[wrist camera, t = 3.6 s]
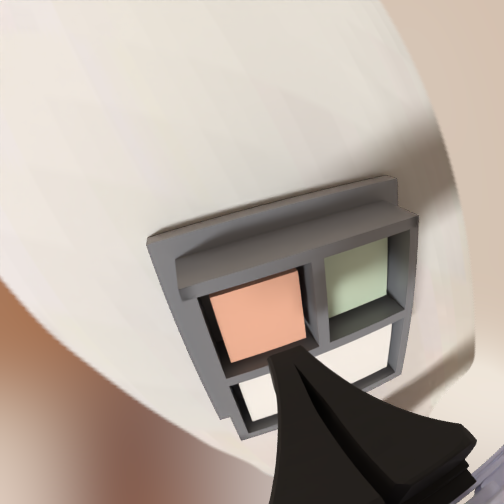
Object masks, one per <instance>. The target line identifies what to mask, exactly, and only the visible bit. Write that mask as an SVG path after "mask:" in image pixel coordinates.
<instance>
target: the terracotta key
mask: <svg viewBox="0 0 504 504" xmlns="http://www.w3.org/2000/svg"><path fill="white" fill-rule="evenodd" d="M209 297H210V300H211V303H212V306H213V310H214V313H215V316H216V319H217V322H218V325H219V328H220V331H221V334H222V337H223V340H224V343H225V346H226V349H227V352H228V355H229V358H230V361H231V363H232V362H236V361H239V360H242V359H245V358H248V357H251V356H254V355H257V354H261V353H264V352H267V351H269V350H272V349H275V348H278V347H281V346H284V345H287V344H290V343H292V342H295V341H298V340H301V339H303V338H306V332H305V324H304V315H303V307H302V300H301V292H300V284H299V277H298V271H297V270H296V268H292V269H289V270H286V271H283V272H279V273H276V274H273V275H270V276H267V277H263V278H260V279H257V280H254V281H250V282H247V283H244V284H241V285H237V286H234V287H231V288H228V289H224V290H221V291H218V292H214V293H211V294H209Z"/></svg>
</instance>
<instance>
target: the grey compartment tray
mask: <svg viewBox="0 0 504 504" xmlns="http://www.w3.org/2000/svg"><path fill="white" fill-rule="evenodd" d="M418 222H419V215H417V214H415V213H412V212H410V211H408V210H406V209H403V208H401V207H399V206H398V189H397V178H394V177H391V176H388V175H385V176H381V177H376V178H372V179H367V180H363V181H358V182H354V183H350V184H345V185H341V186H337V187H333V188H328V189H324V190H320V191H316V192H312V193H308V194H304V195H300V196H296V197H292V198H288V199H284V200H280V201H276V202H272V203H269V204H265V205H261V206H257V207H253V208H250V209H246V210H242V211H238V212H235V213H231V214H228V215H224V216H220V217H217V218H213V219H210V220H206V221H203V222H199V223H196V224H192V225H189V226H185V227H182V228H178V229H175V230H172V231H168V232H165V233H161V234H158V235H155V236H152V237H148V238H147V243H146V246H147V249H148V252H149V254H150V257H151V260H152V263H153V266H154V268H155V271H156V274H157V277H158V279H159V282H160V285H161V287H162V290H163V292H164V295H165V298H166V300H167V303H168V305H169V308H170V310H171V313H172V315H173V318H174V320H175V323H176V325H177V327H178V330H179V332H180V335H181V337H182V339H183V342H184V344H185V346H186V349H187V351H188V353H189V355H190V358H191V360H192V362H193V364H194V366H195V369H196V371H197V373H198V375H199V377H200V380H201V382H202V384H203V386H204V388H205V390H206V392H207V394H208V396H209V398H210V400H211V402H212V404H213V407H214V409H215V411H216V413H217V414H218V416H219V418H220V420H221V419H225V418H228V417H230V418H231V420H232V422H233V424H234V426H235V429H236V431H237V433H238V435H239V437H240V439H241V441H242V440H245V439H249V438H252V437H255V436H258V435H261V434H264V433H267V432H271V431H273V430H276V429H278V414H277V413H276V414H274V415H271V416H268V417H265V418H262V419H258V420H255V421H252V419H251V416H250V413H249V411H248V408H247V405H246V403H245V400H244V397H243V394H242V392H241V389H240V386H239V383H241V382H245V381H248V380H251V379H254V378H257V377H260V376H263V375H266V374H269V373H270V371H269V366H268V362H267V358H268V357H269V356H271V355H274V354H277V353H279V352H282V351H285V350H288V349H291V348H293V347H296V346H299V345H301V346H303V347H304V348H305V349H306V350H307V351H309V352H310V353H311V354H312V355H313V356H314V357H316V356H318V355H321V354H323V353H326V352H328V351H331V350H333V349H335V348H338V347H340V346H343V345H345V344H347V343H350V342H352V341H354V340H357V339H359V338H361V337H363V336H366V335H368V334H370V333H372V332H375V331H377V330H379V329H381V328H383V327H385V326H387V325H390V324H392V329H391V338H390V346H389V354H388V361H387V367H385V368H383V369H381V370H379V371H377V372H375V373H373V374H370V375H368V376H366V377H364V378H362V379H360V380H358V381H356V382H354V383H351V384H352V385H354V386H356V387H357V388H359V389H361V390H362V391H364V392H368V391H370V390H372V389H374V388H376V387H378V386H380V385H382V384H384V383H386V382H388V381H389V380H391V379H393V378H395V377H397V376H399V375H401V373H402V368H403V363H404V358H405V352H406V346H407V341H408V334H409V328H410V321H411V314H412V306H413V297H414V288H415V277H416V265H417V249H418ZM386 237H388V255H387V289H386V295H384V296H382V297H380V298H377V299H375V300H373V301H370V302H368V303H365V304H363V305H361V306H358V307H356V308H353V309H351V310H348V311H346V312H343V313H341V314H338V315H336V316H333V317H330V318H329V316H328V301H327V288H326V276H325V264H324V258H326V257H329V256H332V255H335V254H339V253H342V252H345V251H348V250H351V249H354V248H357V247H360V246H363V245H366V244H369V243H372V242H374V241H377V240H380V239H383V238H386ZM292 268H296V270H297V271H298V277H299V284H300V292H301V300H302V307H303V315H304V324H305V332H306V338H303V339H301V340H298V341H295V342H292V343H290V344H287V345H284V346H281V347H278V348H275V349H272V350H269V351H267V352H264V353H261V354H257V355H254V356H251V357H248V358H245V359H242V360H239V361H236V362H232V363H231V361H230V358H229V355H228V352H227V349H226V346H225V343H224V340H223V337H222V334H221V331H220V328H219V325H218V322H217V319H216V316H215V313H214V310H213V306H212V303H211V300H210V297H209V294H211V293H214V292H218V291H221V290H224V289H228V288H231V287H234V286H237V285H241V284H244V283H247V282H250V281H254V280H257V279H260V278H263V277H267V276H270V275H273V274H276V273H279V272H283V271H286V270H289V269H292Z"/></svg>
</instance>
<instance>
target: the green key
mask: <svg viewBox="0 0 504 504" xmlns="http://www.w3.org/2000/svg"><path fill="white" fill-rule="evenodd" d="M387 255H388V237H386V238H383V239H380V240H377V241H374V242H372V243H369V244H366V245H363V246H360V247H357V248H354V249H351V250H348V251H345V252H342V253H339V254H335V255H332V256H329V257H326V258H324V264H325V276H326V288H327V301H328V316H329V318H330V317H333V316H336V315H338V314H341V313H343V312H346V311H348V310H351V309H353V308H356V307H358V306H361V305H363V304H365V303H368V302H370V301H373V300H375V299H377V298H380V297H382V296H384V295H386V289H387Z"/></svg>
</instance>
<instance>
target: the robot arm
mask: <svg viewBox="0 0 504 504" xmlns="http://www.w3.org/2000/svg"><path fill="white" fill-rule="evenodd" d="M267 362H268V366H269V371H270V375H271V379H272V383H273V387H274V390H275V393H276V399H277V414H278V442H277V456H276V466H275V474H274V480H273V486H272V492H271V497H270V501H269V504H456V503H457V502H459V501H460V500H462V499H463V498H464V497H465V496H467V495H468V494H469V493H470V492H471V491H473V490H474V489H475V488H476V489H475V494H474V496H473V497H472V498H471V499H470V500H469V501H467V502H466V503H465V504H504V445H503V446H502V447H501V448H500V449H499V450H498V451H497V452H496V453H495V454H494V455H493V456H491V457H490V458H489V459H488V460H487V461H486V462H485V463H484V464H482V465H481V466H480V467H479V468H478V469H477V470H476V471H474V472H473V473H472V474H471V473H470V472H469V471H468V470H467V468H468V467H469V465H468V463H467V462H466V461H465V458H466V457H467V456H468V455H469V453H470V452H471V451H472V450H473V448H474V447H475V445H476V442H477V440H476V439H475V437H474V436H473V435H472V434H471V433H470V432H469V431H468V430H467V429H466V428H465V427H464V426H463V425H462V424H458V423H452V422H446V421H441V420H437V419H432V418H429V417H425V416H421V415H418V414H415V413H412V412H409V411H406V410H403V409H401V408H398V407H395V406H393V405H391V404H388V403H386V402H384V401H382V400H380V399H378V398H375V397H373V396H372V395H370V394H368V393H366V392H364V391H362V390H361V389H359V388H357V387H356V386H354V385H352V384H351V383H349V382H348V381H346V380H345V379H343V378H342V377H340V376H339V375H338V374H336V373H335V372H333V371H332V370H331V369H329V368H328V367H327V366H325V365H324V364H323V363H322V362H320V361H319V360H318V359H317V358H315V357H314V356H313V355H312V354H311V353H310V352H309V351H307V350H306V349H305V348H304V347H303V346H301V345H299V346H296V347H293V348H291V349H288V350H285V351H282V352H279V353H277V354H274V355H271V356H269V357H268V358H267Z"/></svg>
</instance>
